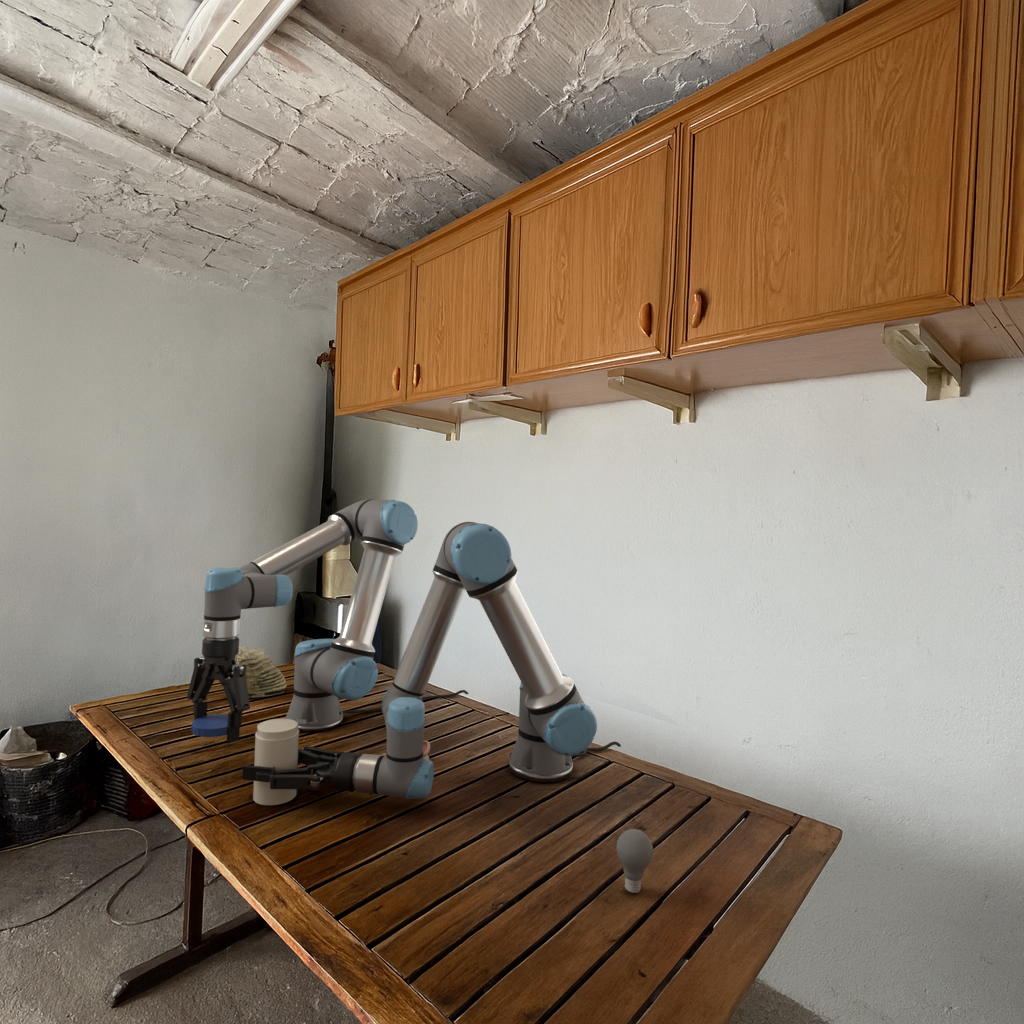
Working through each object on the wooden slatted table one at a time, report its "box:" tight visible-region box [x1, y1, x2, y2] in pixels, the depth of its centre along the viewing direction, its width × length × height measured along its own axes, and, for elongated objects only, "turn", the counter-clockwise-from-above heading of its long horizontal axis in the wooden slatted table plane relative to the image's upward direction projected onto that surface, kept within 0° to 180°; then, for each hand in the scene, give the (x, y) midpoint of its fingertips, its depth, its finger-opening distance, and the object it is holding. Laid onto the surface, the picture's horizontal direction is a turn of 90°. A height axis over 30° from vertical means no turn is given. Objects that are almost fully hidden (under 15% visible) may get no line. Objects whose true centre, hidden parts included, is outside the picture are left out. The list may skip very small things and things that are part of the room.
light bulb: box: [615, 828, 654, 894], centre depth 106 cm, size 6×6×10 cm
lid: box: [190, 713, 228, 738], centre depth 142 cm, size 10×10×2 cm
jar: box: [252, 718, 300, 806], centre depth 133 cm, size 9×9×15 cm
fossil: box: [228, 646, 288, 699], centre depth 198 cm, size 9×18×15 cm, turn 132°
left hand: (216, 736), depth 142 cm, fingers closed on lid, 10 cm apart
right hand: (255, 762), depth 134 cm, fingers closed on jar, 9 cm apart
